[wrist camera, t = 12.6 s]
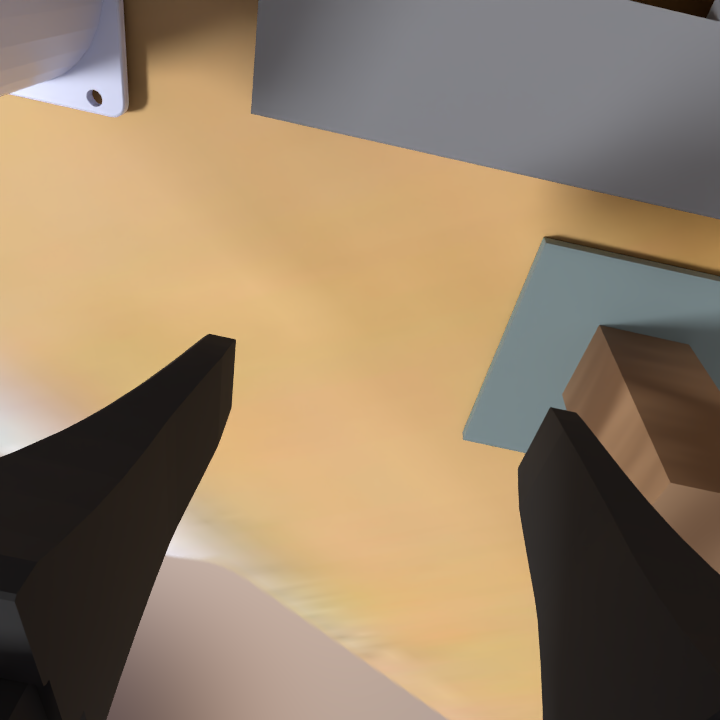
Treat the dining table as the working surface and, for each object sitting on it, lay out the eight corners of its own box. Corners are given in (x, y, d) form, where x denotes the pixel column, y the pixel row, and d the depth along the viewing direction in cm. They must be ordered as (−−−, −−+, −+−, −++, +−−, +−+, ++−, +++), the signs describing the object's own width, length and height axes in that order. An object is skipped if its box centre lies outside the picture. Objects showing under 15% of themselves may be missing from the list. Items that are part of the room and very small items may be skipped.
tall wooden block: (562, 394, 24) (610, 558, 17) (599, 324, 22) (670, 482, 15) (643, 412, 24) (722, 582, 17) (688, 344, 22) (797, 509, 15)
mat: (462, 432, 26) (463, 439, 26) (543, 236, 20) (545, 242, 20) (668, 476, 26) (671, 484, 26) (807, 296, 21) (815, 302, 20)
